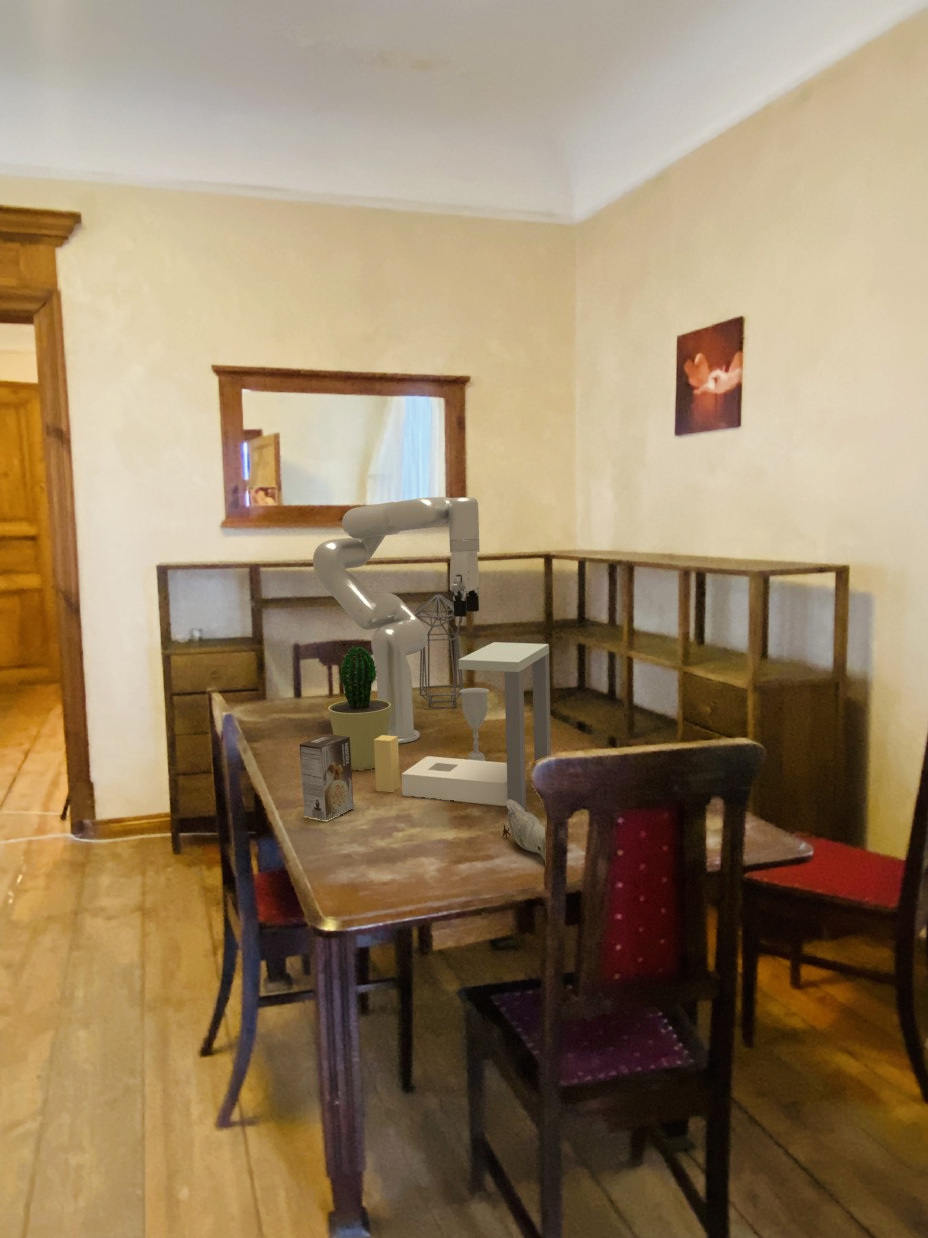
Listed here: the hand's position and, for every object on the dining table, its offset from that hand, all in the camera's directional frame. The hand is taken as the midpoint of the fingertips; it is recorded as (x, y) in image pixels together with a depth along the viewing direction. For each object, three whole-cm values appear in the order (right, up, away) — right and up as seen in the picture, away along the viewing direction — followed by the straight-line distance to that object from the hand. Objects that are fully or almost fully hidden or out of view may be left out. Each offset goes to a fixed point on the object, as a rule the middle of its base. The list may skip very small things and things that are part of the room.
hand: (466, 613), depth 233 cm
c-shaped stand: (+9, -40, -32) cm, 52 cm away
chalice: (+2, -37, -7) cm, 38 cm away
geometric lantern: (-8, -29, +54) cm, 62 cm away
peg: (-18, -40, -26) cm, 51 cm away
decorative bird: (+12, -45, -63) cm, 78 cm away
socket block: (-1, -40, -28) cm, 49 cm away
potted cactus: (-26, -38, -6) cm, 46 cm away
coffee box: (-29, -43, -40) cm, 66 cm away
